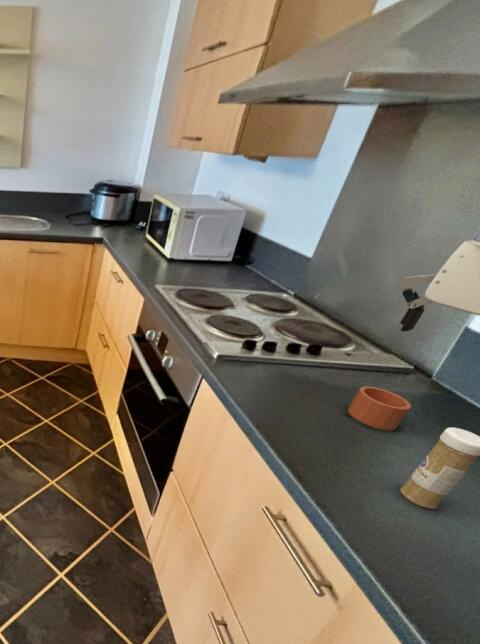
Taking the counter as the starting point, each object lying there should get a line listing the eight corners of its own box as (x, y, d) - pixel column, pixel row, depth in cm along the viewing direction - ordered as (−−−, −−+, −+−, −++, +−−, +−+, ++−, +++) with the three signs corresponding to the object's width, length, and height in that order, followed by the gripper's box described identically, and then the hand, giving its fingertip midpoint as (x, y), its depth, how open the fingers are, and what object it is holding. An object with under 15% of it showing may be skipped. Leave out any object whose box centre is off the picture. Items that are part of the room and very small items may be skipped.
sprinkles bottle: (394, 484, 71) (440, 422, 65) (428, 494, 69) (478, 431, 63) (407, 504, 67) (456, 440, 61) (443, 514, 66) (498, 450, 60)
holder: (391, 416, 90) (405, 395, 87) (400, 435, 83) (416, 414, 81) (345, 402, 93) (357, 382, 91) (350, 420, 87) (364, 399, 85)
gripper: (617, 253, 55) (529, 363, 63) (442, 224, 69) (388, 318, 76) (606, 258, 52) (515, 373, 60) (424, 226, 65) (369, 324, 73)
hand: (443, 342), depth 68 cm, fingers open, 9 cm apart
